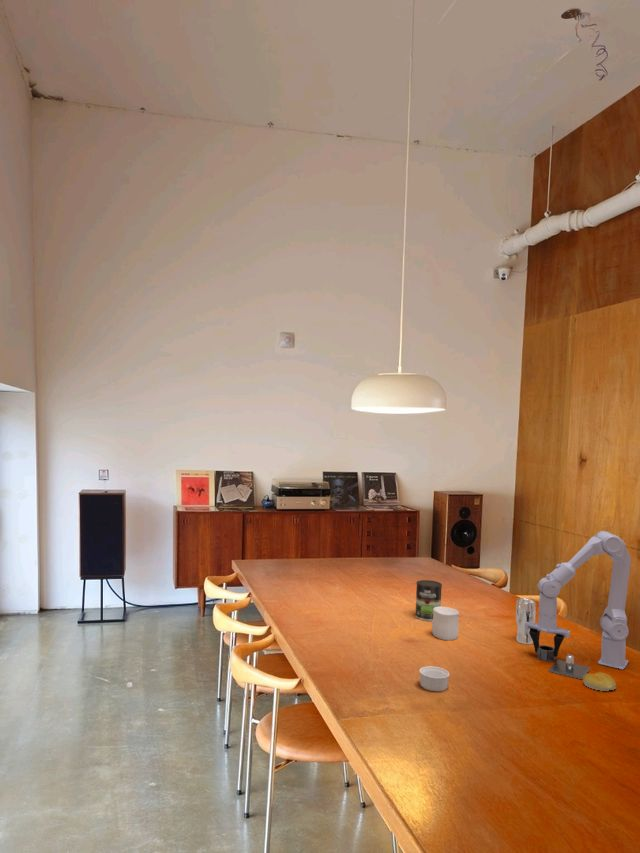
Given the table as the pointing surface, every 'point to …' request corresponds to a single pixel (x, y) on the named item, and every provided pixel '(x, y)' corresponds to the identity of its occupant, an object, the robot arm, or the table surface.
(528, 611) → the beer glass
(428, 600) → the coffee can
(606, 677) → the bread roll
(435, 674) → the ramekin
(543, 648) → the ring
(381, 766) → the table surface
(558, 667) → the square steel plate
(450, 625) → the cup
